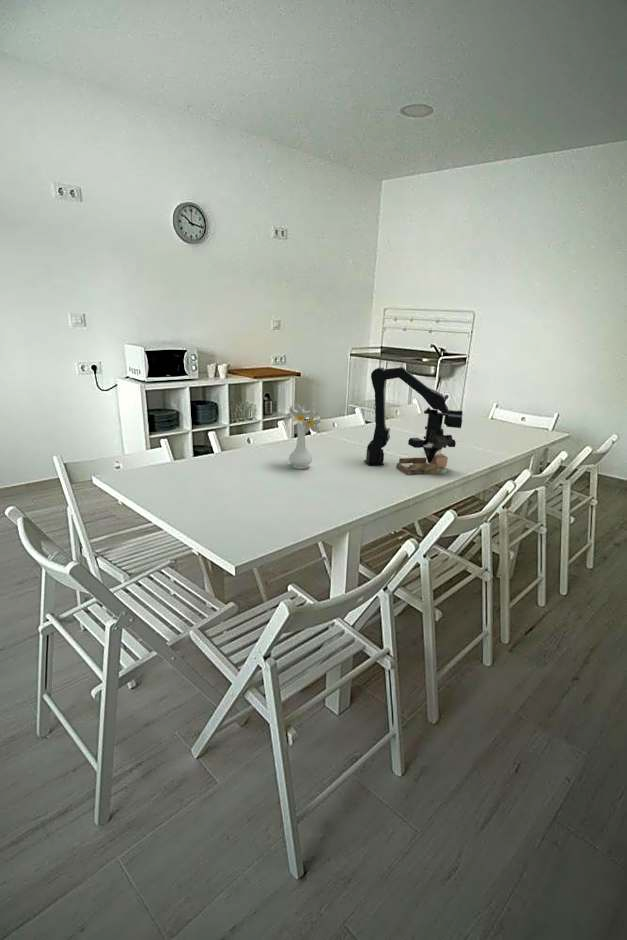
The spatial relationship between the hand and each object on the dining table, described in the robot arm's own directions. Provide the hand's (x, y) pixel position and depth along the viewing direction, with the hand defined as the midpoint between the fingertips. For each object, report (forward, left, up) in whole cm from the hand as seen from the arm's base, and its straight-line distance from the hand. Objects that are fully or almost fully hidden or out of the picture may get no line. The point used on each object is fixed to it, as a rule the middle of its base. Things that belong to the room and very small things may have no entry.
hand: (429, 462), depth 198 cm
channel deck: (-3, 0, -3) cm, 4 cm away
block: (+4, 0, -1) cm, 4 cm away
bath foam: (+15, +22, -3) cm, 27 cm away
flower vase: (-51, +11, -3) cm, 52 cm away
